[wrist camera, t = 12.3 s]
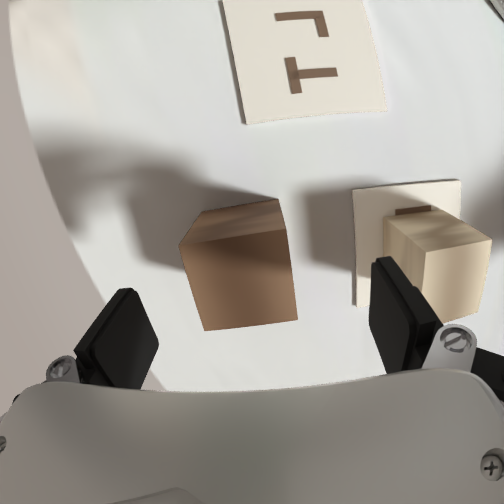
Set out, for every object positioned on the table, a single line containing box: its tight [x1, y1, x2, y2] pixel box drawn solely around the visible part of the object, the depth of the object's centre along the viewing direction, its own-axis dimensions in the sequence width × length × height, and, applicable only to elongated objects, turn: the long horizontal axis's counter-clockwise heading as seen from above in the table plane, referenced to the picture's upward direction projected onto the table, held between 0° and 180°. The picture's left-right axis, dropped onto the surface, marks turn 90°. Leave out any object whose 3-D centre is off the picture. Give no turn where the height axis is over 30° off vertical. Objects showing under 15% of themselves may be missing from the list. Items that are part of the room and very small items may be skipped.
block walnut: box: [179, 199, 298, 331], centre depth 17 cm, size 5×5×6 cm
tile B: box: [352, 180, 461, 308], centre depth 19 cm, size 9×9×1 cm
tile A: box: [222, 0, 387, 125], centre depth 14 cm, size 9×9×1 cm
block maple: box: [383, 209, 492, 323], centre depth 16 cm, size 5×5×6 cm
